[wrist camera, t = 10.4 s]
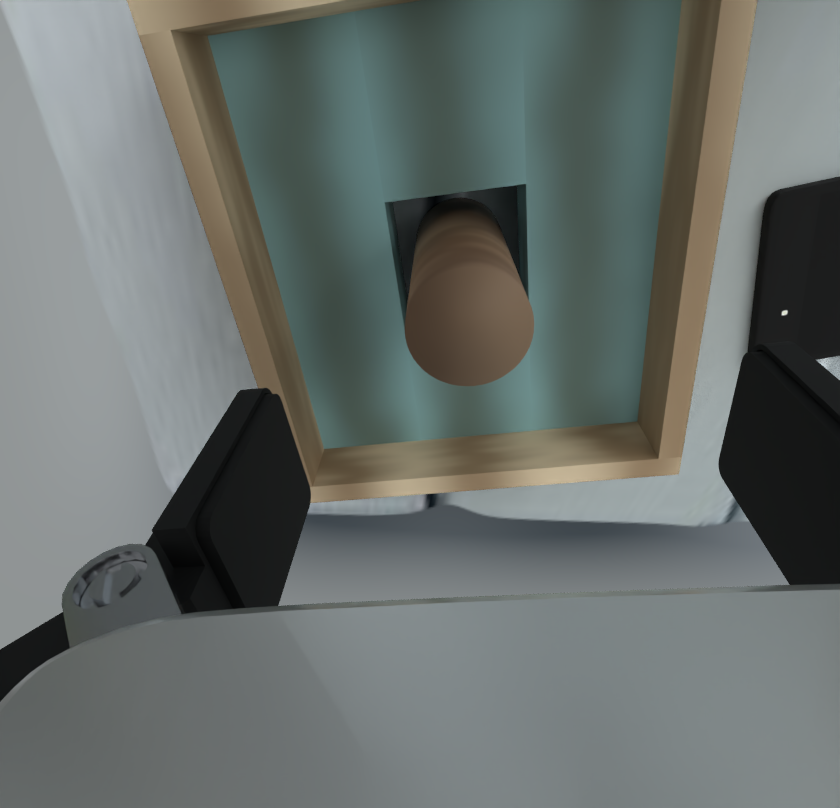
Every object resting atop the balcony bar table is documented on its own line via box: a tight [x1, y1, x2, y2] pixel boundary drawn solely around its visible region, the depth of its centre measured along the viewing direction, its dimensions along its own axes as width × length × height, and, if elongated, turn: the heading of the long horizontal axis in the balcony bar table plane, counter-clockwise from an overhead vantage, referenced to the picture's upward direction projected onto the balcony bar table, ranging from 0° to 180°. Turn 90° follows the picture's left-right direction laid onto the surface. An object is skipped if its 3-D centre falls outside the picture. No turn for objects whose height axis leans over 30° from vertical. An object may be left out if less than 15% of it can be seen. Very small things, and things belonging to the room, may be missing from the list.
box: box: [127, 0, 757, 503], centre depth 22 cm, size 18×20×6 cm
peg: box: [405, 198, 534, 386], centre depth 21 cm, size 4×4×10 cm
